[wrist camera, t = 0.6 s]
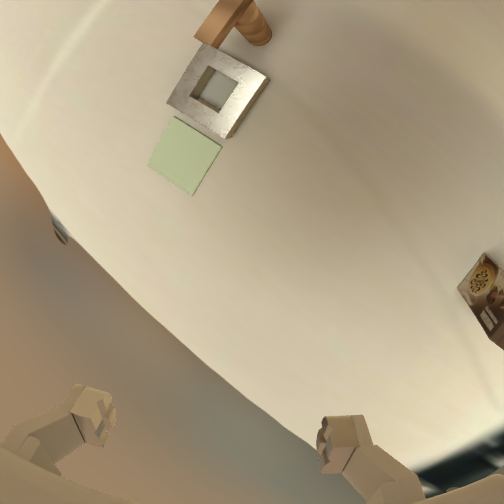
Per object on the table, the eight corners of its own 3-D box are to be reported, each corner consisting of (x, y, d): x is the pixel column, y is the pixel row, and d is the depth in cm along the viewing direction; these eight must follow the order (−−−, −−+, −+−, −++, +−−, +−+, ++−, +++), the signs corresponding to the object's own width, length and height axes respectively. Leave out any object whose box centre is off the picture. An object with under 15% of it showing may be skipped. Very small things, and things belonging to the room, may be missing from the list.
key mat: (174, 116, 47) (173, 116, 47) (222, 146, 48) (221, 147, 48) (149, 164, 52) (147, 165, 51) (193, 195, 53) (191, 195, 52)
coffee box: (473, 301, 50) (505, 353, 35) (455, 287, 49) (487, 340, 35) (501, 267, 46) (540, 312, 31) (484, 250, 45) (525, 295, 31)
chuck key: (269, 2, 36) (246, -43, 22) (290, 13, 37) (277, -31, 22) (227, 58, 42) (187, 34, 27) (248, 69, 42) (216, 48, 27)
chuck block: (211, 47, 41) (203, 42, 38) (269, 80, 42) (266, 76, 39) (176, 103, 46) (166, 103, 43) (231, 137, 47) (224, 138, 44)
